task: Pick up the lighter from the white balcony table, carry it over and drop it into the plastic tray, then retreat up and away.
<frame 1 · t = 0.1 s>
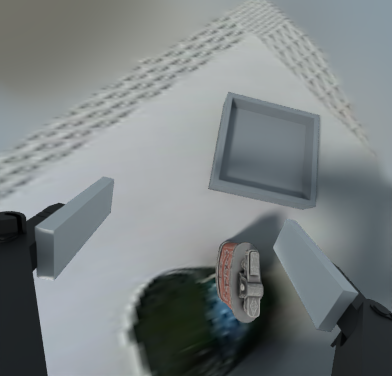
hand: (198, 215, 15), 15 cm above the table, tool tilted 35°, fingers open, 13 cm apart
tray: (261, 154, 35), on the table
lighter: (226, 270, 30), on the table
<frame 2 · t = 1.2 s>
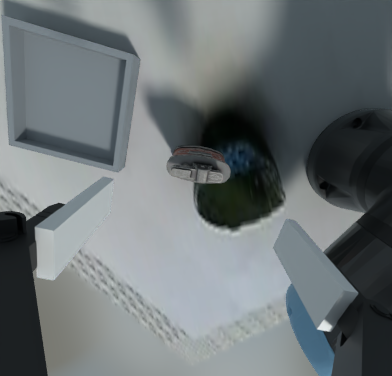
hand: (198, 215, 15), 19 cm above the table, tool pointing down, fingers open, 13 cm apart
tray: (78, 103, 30), on the table
lighter: (198, 156, 33), on the table
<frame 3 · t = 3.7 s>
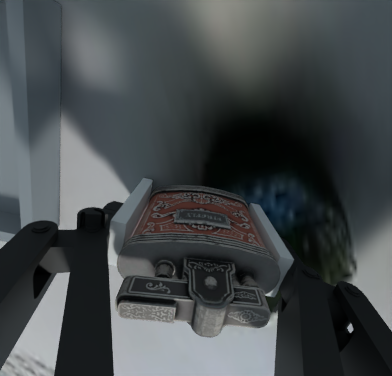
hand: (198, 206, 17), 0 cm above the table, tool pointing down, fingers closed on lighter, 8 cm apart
lighter: (198, 204, 17), on the table, touching gripper
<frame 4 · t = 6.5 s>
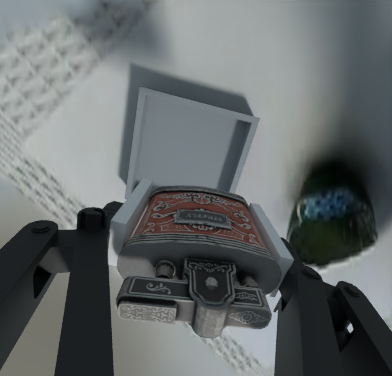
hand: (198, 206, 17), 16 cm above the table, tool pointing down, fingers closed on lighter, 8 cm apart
tray: (188, 156, 32), on the table
lighter: (198, 204, 17), point 15 cm above the table, touching gripper
when the fingers open (4 cm above the table, at t = 9.3 s): lighter stays where it is, point 3 cm above the table.
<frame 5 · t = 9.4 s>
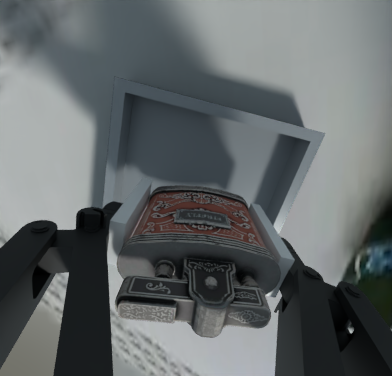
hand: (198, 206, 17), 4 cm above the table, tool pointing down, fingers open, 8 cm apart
tray: (197, 189, 20), on the table
lighter: (198, 203, 17), point 3 cm above the table
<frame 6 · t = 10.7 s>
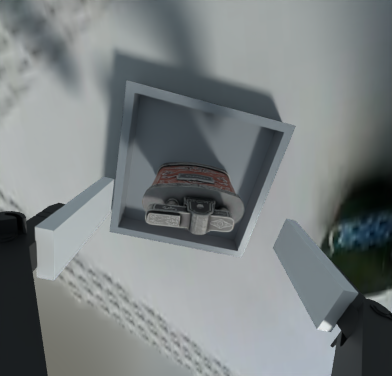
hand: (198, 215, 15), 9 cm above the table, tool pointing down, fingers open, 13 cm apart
tray: (193, 174, 24), on the table
lighter: (193, 176, 23), point 1 cm above the table, touching tray
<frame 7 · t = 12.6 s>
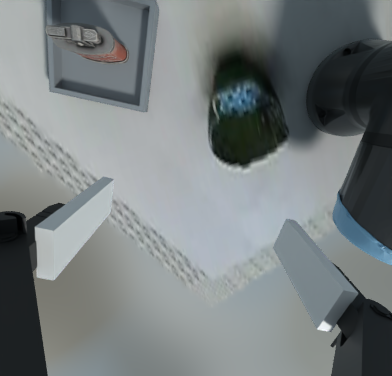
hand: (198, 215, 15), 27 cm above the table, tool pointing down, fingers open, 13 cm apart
tray: (106, 53, 35), on the table
lighter: (105, 52, 34), point 1 cm above the table, touching tray
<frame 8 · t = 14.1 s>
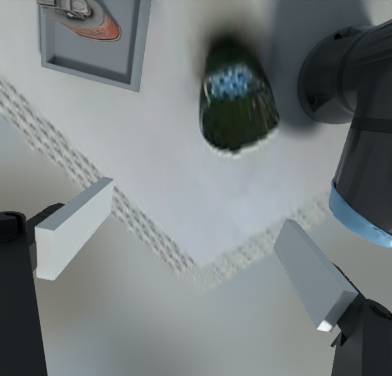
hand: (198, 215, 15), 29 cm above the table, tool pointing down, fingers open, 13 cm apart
tray: (100, 31, 35), on the table
lighter: (98, 30, 35), point 1 cm above the table, touching tray
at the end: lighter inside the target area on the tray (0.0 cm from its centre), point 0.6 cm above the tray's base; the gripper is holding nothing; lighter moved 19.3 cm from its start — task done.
